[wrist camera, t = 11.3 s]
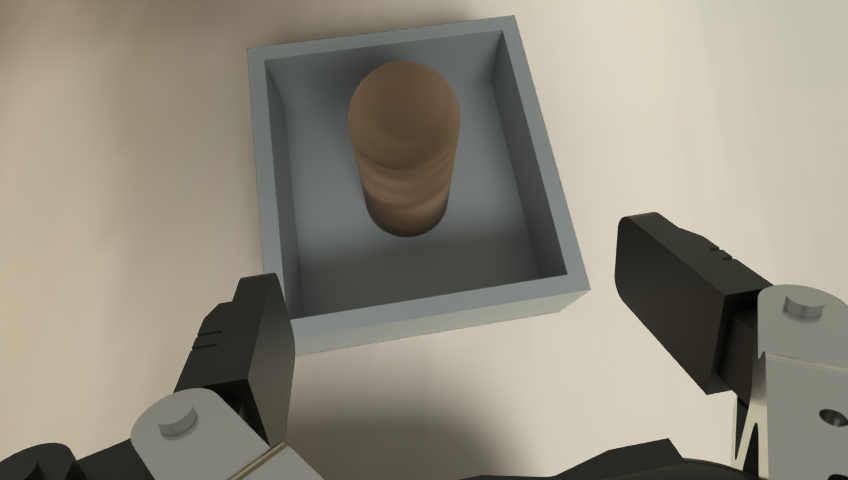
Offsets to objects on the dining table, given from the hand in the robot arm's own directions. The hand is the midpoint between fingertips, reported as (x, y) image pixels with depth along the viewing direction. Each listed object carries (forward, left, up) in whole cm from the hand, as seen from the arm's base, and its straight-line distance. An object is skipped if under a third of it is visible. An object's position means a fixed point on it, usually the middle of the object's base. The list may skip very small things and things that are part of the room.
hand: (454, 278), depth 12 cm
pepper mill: (0, +8, -14) cm, 16 cm away
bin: (0, +8, -15) cm, 17 cm away
